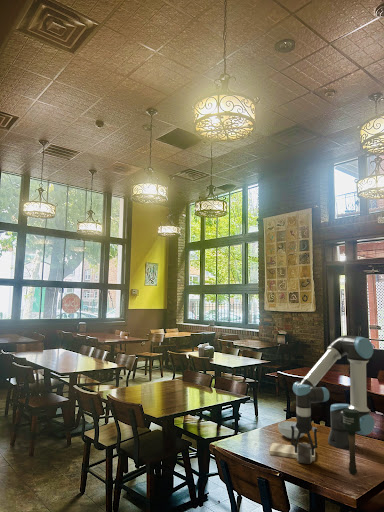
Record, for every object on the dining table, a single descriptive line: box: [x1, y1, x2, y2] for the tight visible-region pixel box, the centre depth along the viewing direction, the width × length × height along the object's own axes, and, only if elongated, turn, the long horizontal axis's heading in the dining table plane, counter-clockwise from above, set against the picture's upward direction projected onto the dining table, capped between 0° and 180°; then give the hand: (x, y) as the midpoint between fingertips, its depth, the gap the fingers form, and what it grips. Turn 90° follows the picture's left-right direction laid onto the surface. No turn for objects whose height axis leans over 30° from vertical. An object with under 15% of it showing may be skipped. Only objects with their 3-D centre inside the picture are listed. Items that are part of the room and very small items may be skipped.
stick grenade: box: [342, 409, 361, 475], centre depth 190 cm, size 8×9×30 cm
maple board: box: [269, 442, 316, 462], centre depth 212 cm, size 24×13×2 cm, turn 72°
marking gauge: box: [297, 442, 311, 465], centre depth 207 cm, size 6×18×8 cm, turn 162°
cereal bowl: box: [277, 420, 306, 440], centre depth 239 cm, size 17×17×7 cm
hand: (304, 460), depth 201 cm, fingers closed on marking gauge, 6 cm apart
